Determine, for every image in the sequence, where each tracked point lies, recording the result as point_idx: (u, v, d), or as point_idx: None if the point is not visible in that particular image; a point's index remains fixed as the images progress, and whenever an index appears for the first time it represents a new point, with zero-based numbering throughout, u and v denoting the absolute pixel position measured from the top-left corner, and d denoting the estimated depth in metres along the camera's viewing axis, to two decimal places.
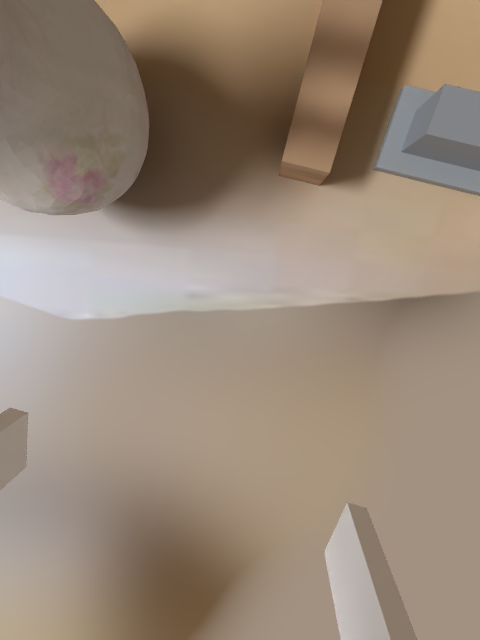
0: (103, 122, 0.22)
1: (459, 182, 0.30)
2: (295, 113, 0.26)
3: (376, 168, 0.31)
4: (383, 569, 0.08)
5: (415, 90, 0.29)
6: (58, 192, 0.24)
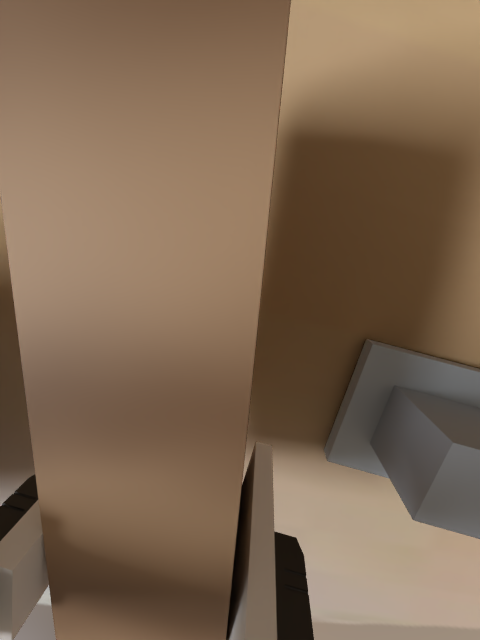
0: None
1: None
2: (54, 580, 0.07)
3: (327, 458, 0.17)
4: (267, 483, 0.10)
5: (393, 353, 0.15)
6: None
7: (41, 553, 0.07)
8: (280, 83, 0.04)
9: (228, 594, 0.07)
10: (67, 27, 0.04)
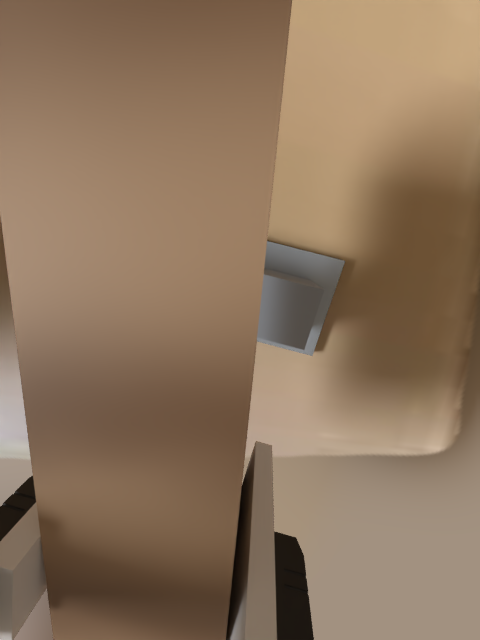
0: None
1: None
2: (52, 584, 0.07)
3: None
4: (266, 483, 0.10)
5: None
6: None
7: (41, 553, 0.07)
8: (281, 85, 0.04)
9: (228, 599, 0.07)
10: (65, 28, 0.04)
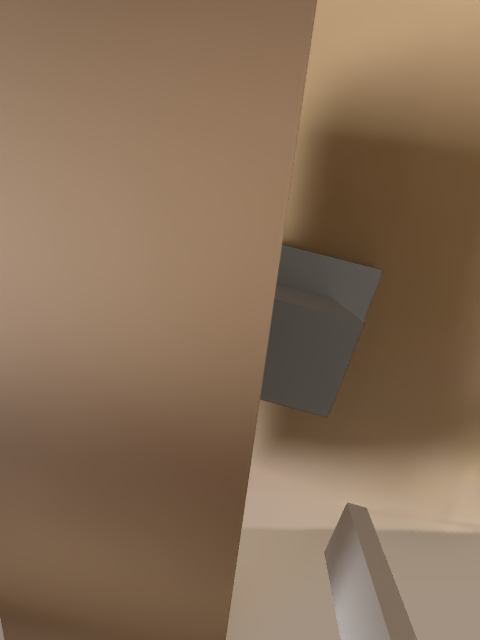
0: None
1: None
2: None
3: None
4: (383, 569, 0.08)
5: None
6: None
7: None
8: (309, 39, 0.03)
9: None
10: None
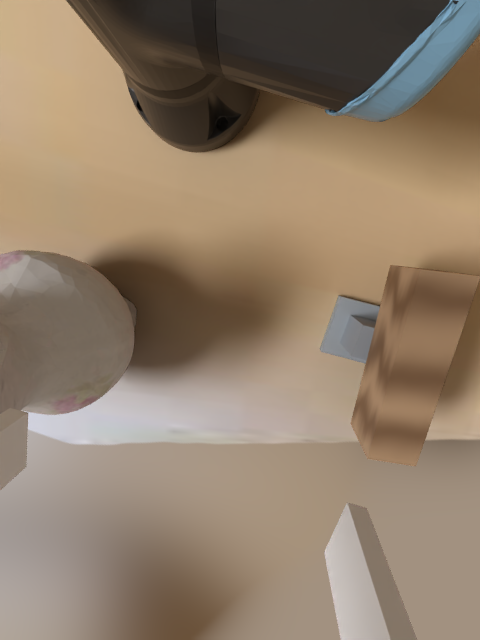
0: (96, 373, 0.29)
1: None
2: (378, 424, 0.28)
3: (321, 351, 0.38)
4: (383, 569, 0.08)
5: (349, 300, 0.36)
6: (62, 411, 0.31)
7: None
8: None
9: (428, 426, 0.27)
10: (427, 309, 0.24)
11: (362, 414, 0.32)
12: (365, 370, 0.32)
